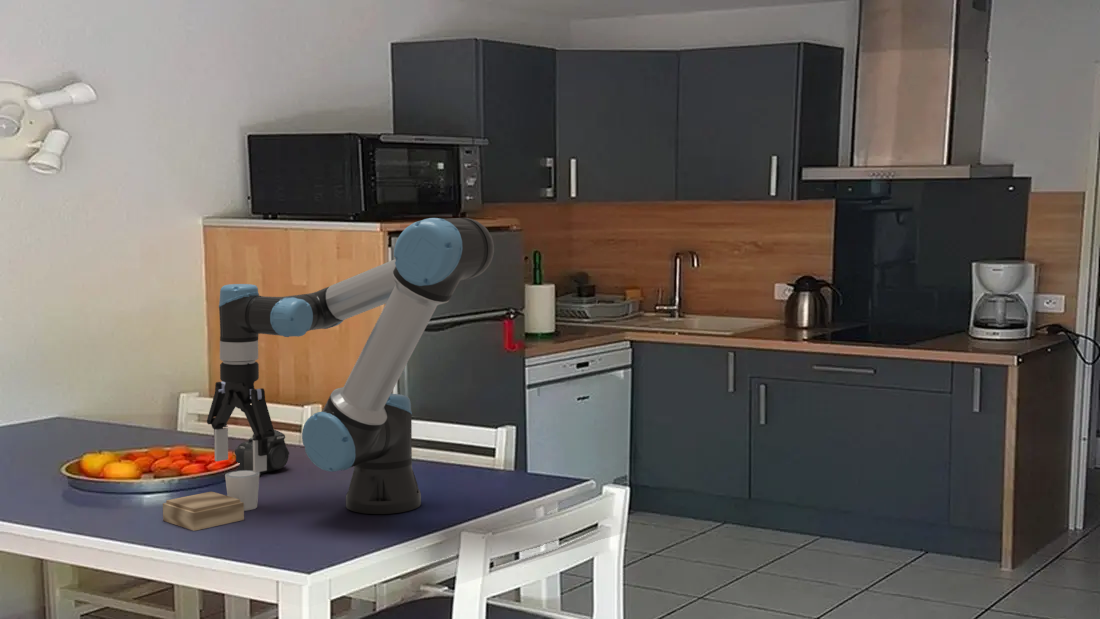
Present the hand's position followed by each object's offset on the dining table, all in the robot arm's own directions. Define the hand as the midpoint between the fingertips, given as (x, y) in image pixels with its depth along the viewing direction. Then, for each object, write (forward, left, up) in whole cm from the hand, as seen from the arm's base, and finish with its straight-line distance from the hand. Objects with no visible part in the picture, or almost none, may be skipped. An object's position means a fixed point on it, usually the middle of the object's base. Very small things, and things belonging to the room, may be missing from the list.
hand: (240, 465), depth 256 cm
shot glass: (0, 0, -9) cm, 9 cm away
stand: (-3, +11, -9) cm, 14 cm away
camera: (+24, -22, -9) cm, 34 cm away
